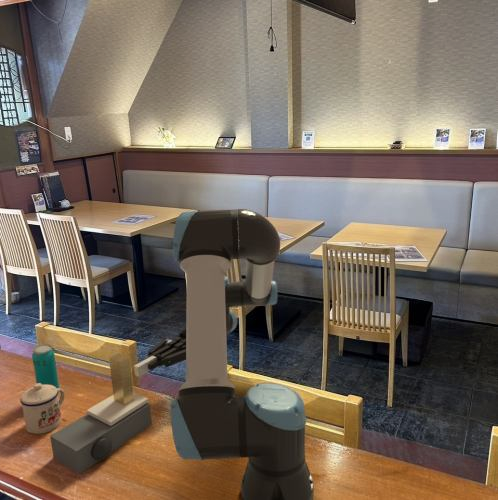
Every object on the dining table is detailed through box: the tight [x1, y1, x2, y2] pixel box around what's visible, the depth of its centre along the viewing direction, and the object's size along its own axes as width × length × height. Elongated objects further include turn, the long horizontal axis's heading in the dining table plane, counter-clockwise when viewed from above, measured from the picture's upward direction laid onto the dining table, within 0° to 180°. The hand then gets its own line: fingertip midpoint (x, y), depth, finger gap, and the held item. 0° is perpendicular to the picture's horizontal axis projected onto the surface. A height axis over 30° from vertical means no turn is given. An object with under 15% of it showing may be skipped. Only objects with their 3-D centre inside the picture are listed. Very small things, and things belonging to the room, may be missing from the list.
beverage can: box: [31, 344, 60, 394], centre depth 143 cm, size 6×6×15 cm
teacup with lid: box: [19, 383, 66, 435], centre depth 132 cm, size 12×9×12 cm
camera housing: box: [49, 402, 153, 475], centre depth 124 cm, size 22×11×6 cm, turn 144°
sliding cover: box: [86, 353, 149, 426], centre depth 125 cm, size 12×9×13 cm
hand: (136, 371), depth 130 cm, fingers closed
